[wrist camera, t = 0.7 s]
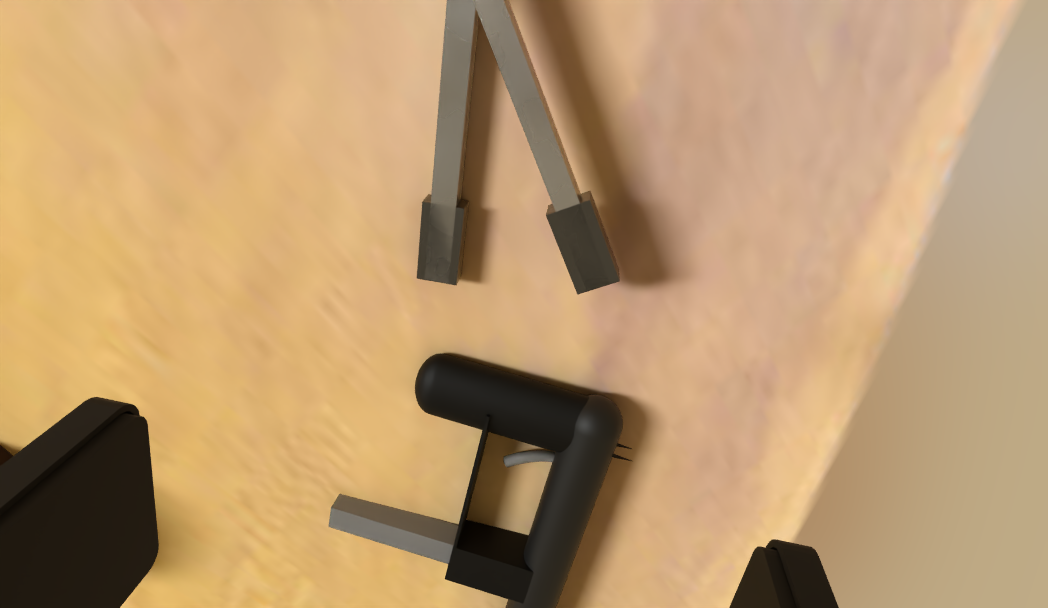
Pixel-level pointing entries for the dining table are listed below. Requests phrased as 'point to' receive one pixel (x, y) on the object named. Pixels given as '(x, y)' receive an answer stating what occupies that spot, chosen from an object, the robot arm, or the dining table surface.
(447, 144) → the tongs fixed arm
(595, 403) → the door handle
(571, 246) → the tongs hinged arm
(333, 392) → the dining table surface
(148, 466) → the robot arm
